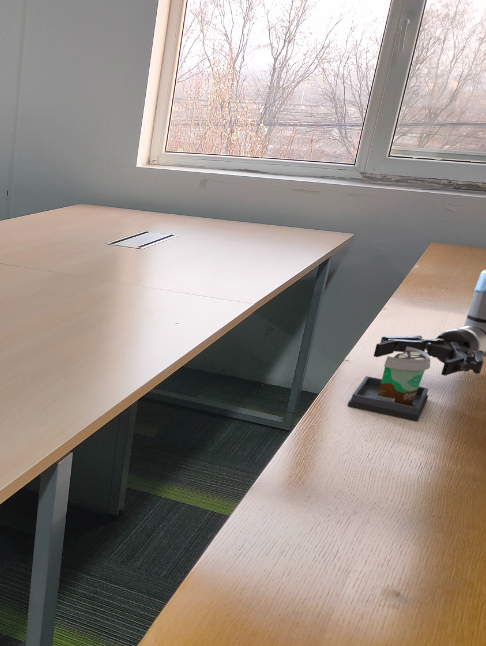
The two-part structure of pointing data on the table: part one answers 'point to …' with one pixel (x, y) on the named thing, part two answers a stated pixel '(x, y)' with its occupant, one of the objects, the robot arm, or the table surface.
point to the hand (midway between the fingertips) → (409, 359)
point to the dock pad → (369, 401)
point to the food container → (403, 376)
